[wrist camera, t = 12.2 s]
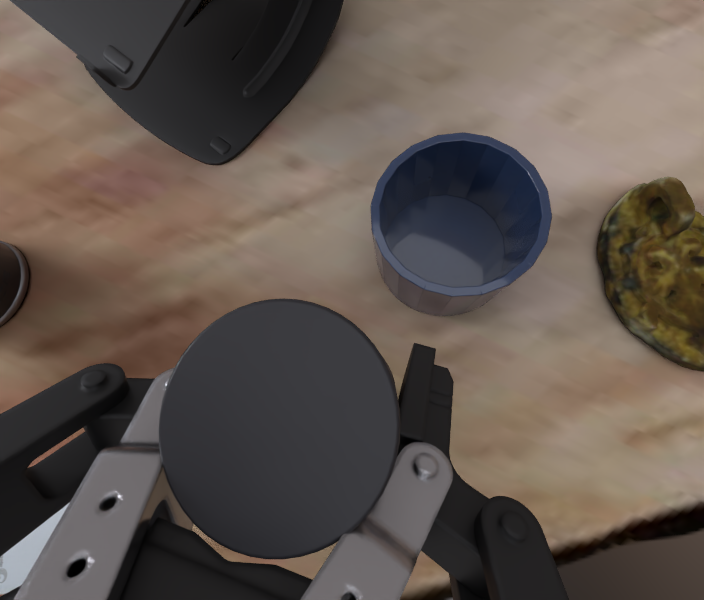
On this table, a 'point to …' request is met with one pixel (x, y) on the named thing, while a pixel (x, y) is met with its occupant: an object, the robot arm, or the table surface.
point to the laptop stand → (195, 61)
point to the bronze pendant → (657, 268)
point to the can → (457, 222)
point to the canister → (279, 428)
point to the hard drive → (25, 554)
